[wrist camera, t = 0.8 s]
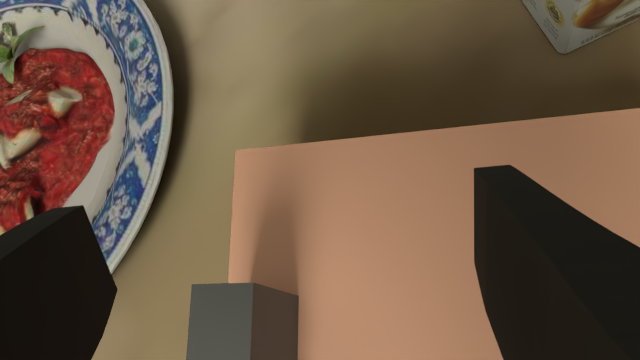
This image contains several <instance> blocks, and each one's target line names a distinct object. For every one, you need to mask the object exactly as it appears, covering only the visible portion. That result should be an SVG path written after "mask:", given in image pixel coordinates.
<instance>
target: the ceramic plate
mask: <svg viewBox="0 0 640 360" xmlns="http://www.w3.org/2000/svg"><path fill="white" fill-rule="evenodd" d="M173 109H174V89H173V79H172V69H171V65H170V60H169V55H168V50H167V48H166V45H165V42H164V39H163V36H162V33H161V30H160V27H159V25H158V23H157V22H156V20H155V18H154V17H153V15H152V13H151V12H150V10H149V8H148V7H147V5H146V4H145V2H144V1H143V0H0V235H1V234H3V233H5V232H7V231H8V230H10V229H12V228H14V227H15V226H17V225H19V224H21V223H23V222H25V221H27V220H29V219H30V218H32V217H34V216H36V215H38V214H41V213H43V212H45V211H48V210H50V209H52V208H60V207H70V206H81V205H83V206H84V208H85V211H86V213H87V216H88V218H89V221H90V223H91V226H92V228H93V231H94V233H95V236H96V238H97V240H98V243H99V245H100V248H101V250H102V253H103V255H104V258H105V260H106V263H107V265H108V268H109V270H110V273H111V274H112V273H113V271H114V270H115V269H116V267H117V266H118V264H119V263H120V261H121V260H122V258H123V257H124V255H125V254H126V252H127V251H128V249H129V247H130V246H131V244H132V242H133V240H134V238H135V237H136V235H137V233H138V231H139V230H140V228H141V226H142V224H143V222H144V219H145V217H146V215H147V213H148V211H149V209H150V206H151V204H152V202H153V199H154V196H155V194H156V191H157V188H158V186H159V183H160V180H161V176H162V173H163V169H164V166H165V162H166V159H167V154H168V149H169V143H170V138H171V132H172V122H173Z"/></svg>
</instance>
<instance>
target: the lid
mask: <svg viewBox="0 0 640 360" xmlns="http://www.w3.org/2000/svg"><path fill="white" fill-rule="evenodd" d="M500 165H511V166H513V167H515V168H516V169H518V170H519V171H521V172H522V173H524V174H525V175H527V176H528V177H530V178H531V179H533V180H534V181H535V182H537V183H538V184H540V185H541V186H543V187H544V188H545V189H547V190H548V191H550V192H551V193H553V194H554V195H556V196H557V197H559V198H560V199H562V200H563V201H565V202H566V203H567V204H569V205H571V206H572V207H574V208H575V209H577V210H578V211H580V212H581V213H583V214H584V215H586V216H588V217H589V218H591V219H592V220H594V221H596V222H597V223H599V224H600V225H602V226H604V227H605V228H607V229H609V230H610V231H612V232H614V233H616V234H617V235H619V236H621V237H623V238H624V239H626V240H628V241H630V242H631V243H633V244H635V245H637V246H638V247H640V108H636V109H626V110H616V111H607V112H597V113H588V114H578V115H569V116H559V117H549V118H540V119H530V120H521V121H511V122H502V123H492V124H482V125H473V126H463V127H454V128H444V129H434V130H425V131H415V132H406V133H396V134H387V135H377V136H367V137H358V138H348V139H339V140H329V141H320V142H310V143H300V144H291V145H281V146H272V147H262V148H253V149H243V150H236V154H235V171H234V189H233V206H232V224H231V241H230V259H229V277H228V283H222V284H192V291H191V304H190V317H189V330H188V343H187V356H186V360H503V357H502V355H501V352H500V349H499V347H498V344H497V341H496V338H495V336H494V333H493V330H492V328H491V325H490V322H489V319H488V317H487V314H486V311H485V307H484V303H483V299H482V295H481V290H480V286H479V282H478V277H477V273H476V268H475V264H474V168H479V167H490V166H500Z"/></svg>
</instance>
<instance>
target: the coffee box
mask: <svg viewBox="0 0 640 360" xmlns="http://www.w3.org/2000/svg"><path fill="white" fill-rule="evenodd" d="M522 2H523V3H524V5H525V6H526V8H527V9H528V11H529V12H530V14H531V15H532V17H533V18H534V19H535V21H536V22H537V24H538V25H539V27H540V28H541V29H542V31H543V32H544V34H545V35H546V37H547V38H548V39H549V41H550V42H551V44H552V45H553V46H554V48H555V49H556V51H558V52H559V53H562V54H566V53H569V52H571V51H573V50H575V49H577V48H579V47H581V46H583V45H586V44H588V43H590V42H592V41H594V40H596V39H599V38H601V37H603V36H605V35H607V34H609V33H611V32H614V31H616V30H618V29H620V28H622V27H624V26H626V25H628V24H630V23H633V22H635V21H637V20H639V19H640V0H522Z"/></svg>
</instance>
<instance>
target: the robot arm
mask: <svg viewBox="0 0 640 360" xmlns="http://www.w3.org/2000/svg"><path fill="white" fill-rule="evenodd" d="M474 264H475V268H476V273H477V277H478V282H479V286H480V290H481V295H482V299H483V303H484V307H485V311H486V314H487V317H488V319H489V322H490V325H491V328H492V330H493V333H494V336H495V338H496V341H497V344H498V347H499V349H500V352H501V355H502V357H503V360H640V247H638V246H637V245H635V244H633V243H631V242H630V241H628V240H626V239H624V238H623V237H621V236H619V235H617V234H616V233H614V232H612V231H610V230H609V229H607V228H605V227H604V226H602V225H600V224H599V223H597V222H596V221H594V220H592V219H591V218H589V217H588V216H586V215H584V214H583V213H581V212H580V211H578V210H577V209H575V208H574V207H572V206H571V205H569V204H567V203H566V202H565V201H563V200H562V199H560V198H559V197H557V196H556V195H554V194H553V193H551V192H550V191H548V190H547V189H545V188H544V187H543V186H541V185H540V184H538V183H537V182H535V181H534V180H533V179H531V178H530V177H528V176H527V175H525V174H524V173H522V172H521V171H519V170H518V169H516V168H515V167H513V166H511V165H500V166H490V167H479V168H474ZM116 293H117V287H116V285H115V282H114V280H113V278H112V275H111V273H110V270H109V268H108V265H107V263H106V260H105V258H104V255H103V253H102V250H101V248H100V245H99V243H98V240H97V238H96V236H95V233H94V231H93V228H92V226H91V223H90V221H89V218H88V216H87V213H86V211H85V208H84V206H83V205H81V206H70V207H60V208H52V209H50V210H48V211H45V212H43V213H41V214H38V215H36V216H34V217H32V218H30V219H29V220H27V221H25V222H23V223H21V224H19V225H17V226H15V227H14V228H12V229H10V230H8V231H7V232H5V233H3V234H1V235H0V360H91V359H92V357H93V355H94V353H95V351H96V348H97V346H98V344H99V342H100V340H101V338H102V336H103V333H104V330H105V327H106V324H107V321H108V319H109V316H110V312H111V309H112V306H113V303H114V299H115V296H116Z"/></svg>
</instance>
